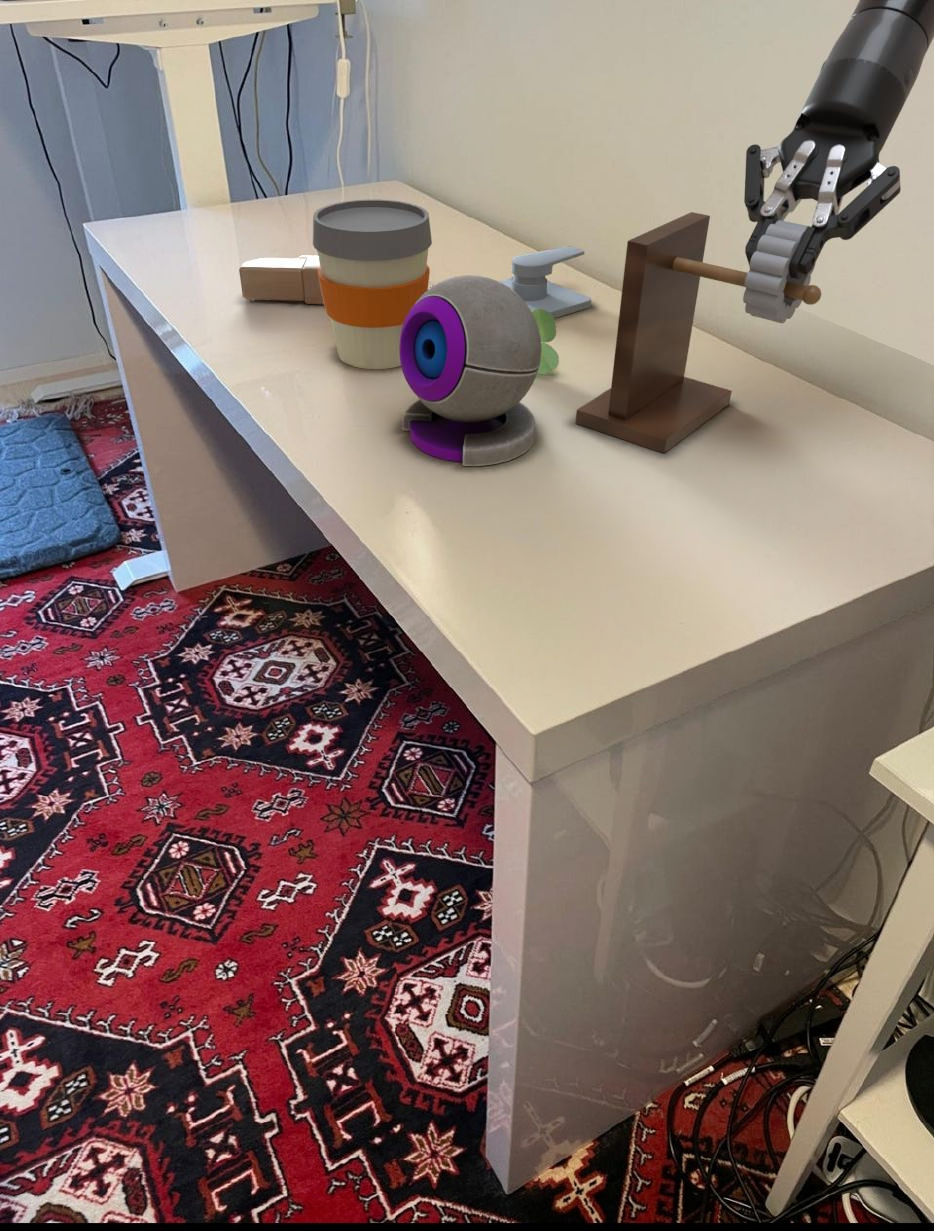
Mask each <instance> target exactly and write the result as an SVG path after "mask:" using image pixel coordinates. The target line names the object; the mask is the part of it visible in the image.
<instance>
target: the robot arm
mask: <svg viewBox="0 0 934 1231" xmlns="http://www.w3.org/2000/svg"><path fill="white" fill-rule="evenodd" d="M933 40H934V0H859V1H858V3H857V5H856V7H855V8H854V11H853V13H852V14H851V17H850V18H849V21H848V22H847V24H846V26H845V28H844V29H843V31H842V33H841V34H840V35H839V36H838V38H837V40H836V41H835V43H834V45H833V47H831V50H830V52H829V54H828V56H827V58H826V59H825V61H824V62H823V64H822V66H821V68H820V71H819V75H818V76H817V78H816V80H815V82H814V84H813V87H812V89H811V91H810V92H809V94H808V97H807V98H806V101H805V102H804V104H803V106H802V108H801V111H800V113H799V115H798V117H797V120H796V122H795V124H794V127H793V129H792V131H791V132H790V133H789V134H788V135H787V136H786V137H784V138H783V139H782V141H781V142H780V144H779V145H778V146H774V147H770V148H764V149H762V148H761V146H760V145H759V144H757V143H756V144H752V145H750V146H748V147H747V149H746V153H745V173H744V174H745V179H744V198H743V200H744V205H745V208H746V210H747V215H748V219H749V221H750V222H752V223H756V225H755V226H754V228H753V230H752V233H751V234H750V236H749V238H748V241H747V243H746V245H745V247H744V248H745V249H744V253H745V257H746V260H747V263H748V266H749V267H750V261H751V258H752V256H753V254H754V253H755V252H756V251H757V245H758V242H759V240H760V238H761V237H762V236H763V235H765V234H766V231H767V228H768V227H769V225H770V224H775V223H776V222H777V221H778V220H781V221H785V219H786V218H787V216H788V215H789V214H790V213H793V212H794V211H795V209H796V208H797V207H798V205H800V203H801V201H802V200H814V201H816V202H817V203H816V207H815V210H814V213H813V217H812V225H811V227H809V226H810V225H806V226H807V228H806V230H805V233H804V235H803V237H802V239H801V241H800V243H799V245H798V247H797V249H796V251H795V253H794V255H793V257H792V259H791V261H790V263H789V273H790V277H791V278H794V279H800V278H801V277H802V275H803V273H804V274H808V273H809V272H810V271H811V270H812V269H813V267H814V265H815V266H816V263H817V260H818V258H819V257H820V254H821V253H822V250H823V248H824V246H825V244H826V243H827V242H828V241H829V240H832V239H836V238H840V239H841V240H843V241H848V240H850V239H851V240H852V238H853V237H855V235H857V234H858V233H859V232H860V231H861V230H862V229H863V228H864V227H865V226H866V225H867V224H868V223H870V221H871V220H873V219H874V218H875V217H876V216H877V215H878V214H879V213H880V212H881V211H882V210H883V209H885V207H886V206H888V205H889V204H890V203H891V202H892V201H893V200H894V199H895V198H896V197H897V196H899V194H900V193H901V190H902V189H901V170H900V168H899V167H898V166H896V165H890V166H888V167H886V166H884V165H883V164H881V162H880V153H881V151H882V150H883V148H884V146H885V144H886V142H887V140H888V138H889V136H890V134H891V132H892V130H893V128H894V126H895V124H896V122H897V120H898V118H899V115H900V113H901V112H902V109H903V108H904V106H905V104H906V101H907V100H908V98H909V96H910V93H911V91H912V89H913V87H914V86H915V83H916V81H917V79H918V76H919V73H920V70H921V68H922V65H923V62H924V59H925V57H926V54H927V52H928V50H929V48H930V46H931V44H932V42H933ZM779 163H780V165H781V170H782V173H781V175H780V176H779V177H778V179H777V180H776V182H775V184H774V186H773V190H772V192H771V194H769V197H768V198H767V199H766V201H765V179H768V178H769V177H770V176H771V174H772V173H773V170H774V167H776V165H777V164H779ZM865 182H866V187H865V188H864V189H863V190H862V191H861V192H860V193H859V194H858V195H857V196H856V197H855V198H854V199H853V200H852V201H850V202H849V203H848V204H847V205H846V206H845V207H843V209H842V210H841V206H842V204H843V203H842V202H843V200H844V196H846V195H847V194H849V193H850V192H852V191H853V190H855V189H856V188H858V187H859V186H861V185H863V184H864V183H865ZM840 210H841V211H840ZM815 262H816V263H815ZM814 268H815V267H814Z"/></svg>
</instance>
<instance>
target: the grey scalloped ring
mask: <svg viewBox="0 0 934 1231" xmlns="http://www.w3.org/2000/svg"><path fill="white" fill-rule="evenodd" d="M807 226H809V227H812V225H811V226H810V225H805V224H801V223H796V222H791V221H786V220H783V221H781V220H778V221H777V222H776V223H775V224H770V225H769V227H768V228H767V231H766V234H765V235H763V236H762V237H761V238H760V240H759V242H758V245H757V251H756V252H755V253H754V254H753V256H752V258H751V261H750V266H749V270H748V272H747V276H746V279H745V287H744V288H745V290H744V292H743V297H742V302H743V303H744V304H745V306H744V311H745V313H746V314H750V316H752V317H755V318H759V319H763V320H768V321H771V322H776V323H779V324H784V323H785V322H786V321H787V319H788V320H790V319H791V318H792V317H793V316H794V314H795V312H796V309H798V308H799V307H801V306H800V305H801V304H802V302H803V301H802V300H798V299H794V298H789V297H785V296H784V292H783V290H784V288H785V285H786V282H791V283H795V284H800V285H804V286H809V285H811V284H810V283H811V280H812V274H813V272H814V270H815V268H816V263H817V261H816V262H815V265H814V267H813V269H812V270H811V271H810V272H809V273H808V274H804V273H803V275H802V277H801V278H800V279H794V278H791V277H790V273H789V263H790V261H791V259H792V257H793V255H794V253H795V251H796V249H797V247H798V245H799V243H800V241H801V239H802V237H803V235H804V233H805V230H806V228H807Z"/></svg>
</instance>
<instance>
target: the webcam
mask: <svg viewBox="0 0 934 1231" xmlns="http://www.w3.org/2000/svg"><path fill="white" fill-rule="evenodd" d="M498 281H499V280H495V279H493V278H491V277H486V276H481V275H474V274H473V275H467V274H466V275H459V276H454V277H451V278H447V279H444V280H443V281H442V280H441V282H440V281H439V282H438V283H436V284H435V285H433V286H431V287H430V288H428V291H426V292H425V293H424V294H423V295H422V296H421V297H420V298H419V299H418V300H417V302H416V303H415V304H414V306H413V307H412V308H411V310H410V311H409V313H408V315H407V316H406V319H405V321H404V323H403V326H402V330H401V335H400V344H399V354H400V363H401V366H400V367H401V371H402V374H403V378H404V379H405V381H406V383H407V385H408V387H409V388H410V390H411V391H412V393H413V394H414V395H415V397H416V398H417V399H418V400H417V401H415V402H414V403H413V404H411V405H409V407H408V408H407V409H406V410H405V412H404V414H403V415H402V419H401V430H402V431H406V432H407V431H408V432H409V436H410V440H411V442H412V443H413V445H414V446H416V447H417V448H418V449H419V450H420V451H422V452H424V453H425V454H427V455H429V456H432V457H436V458H438V459H441V460H446V461H450V462H451V461H452V462H459V463H462V467H480V466H481V467H483V466H491V465H497V464H501V463H505V462H508V461H511V460H514V459H516V458H518V457H520V456H522V455H523V454H525V453H526V452H528V451H529V450H530V449H531V448H532V447H533V445H534V443H535V441H536V432H537V424H536V418H535V416H534V414H533V413H532V411H531V410H530V408H528V407H527V406H526V405H525V404H524V403H522V402H521V401H522V400H523V399H524V398H525V396H526V395H527V394H528V392H529V391H530V390H531V388H532V386H533V384H534V382H535V381H536V378H537V376H538V374H537V373H538V370H539V366H540V360H541V343H542V342H541V338H540V333H539V329H538V325H537V322H536V320H535V317H534V316H533V314H532V312H531V310H530V308H529V307H528V306H527V304H526V303H525V302H524V300H523V299H522V298H521V297H520V296H519V295H518V294H517V293H516V292H514V291H513V290H512V289H511V288H509V287H508V286H506V285H504V284H503V283H501V282H498Z"/></svg>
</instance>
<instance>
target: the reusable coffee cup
mask: <svg viewBox="0 0 934 1231" xmlns="http://www.w3.org/2000/svg"><path fill="white" fill-rule="evenodd" d="M429 214H430V213H429V212H428V211H427V209H425V208H424V207H422V206H419V205H417V204H414V203H409V202H406V201H400V200H391V199H379V198H377V199H376V198H375V199H374V198H373V199H353V200H345V201H340V202H335V203H331V204H328V205H325V206H322V207H320V208H319V209H317V210H315V212H314V213H313V215H312V218H313V219H312V246H313V248H314V249H315V250H316V253H317V256H318V258H319V263H320V267H319V269H318V277H319V282H320V287H321V292H322V296H323V301H324V304H323V306H324V311H325V314H326V316H327V317H328V318H329V319H330V321H331V325H332V326H331V327H332V331H333V337H334V341H335V345H336V346H335V347H336V350H337V355H338V358H339V360H340V361H341V362H342V363H345V364H346V365H348V366H351V367H355V368H359V369H364V370H385V369H393V368H398V367H401V363H400V354H399V344H400V335H401V330H402V326H403V323H404V321H405V319H406V316H407V315H408V313H409V311H410V310H411V308H412V307H413V306H414V304H415V303H416V302H417V300H418V299H419V298H420V297H421V296H422V295H423V294H424V293H425V292H426V291H428V290H429V283H430V273H431V270H430V267H429V265H428V256H429V248H431V246H432V244H433V242H432V231H431V224H430V223H431V222H430V215H429Z"/></svg>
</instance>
